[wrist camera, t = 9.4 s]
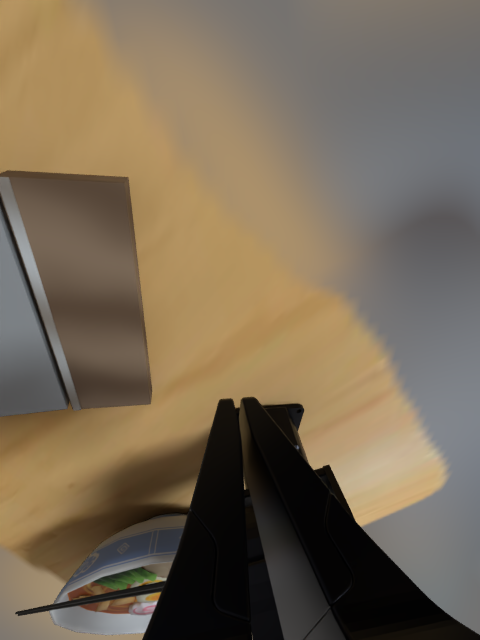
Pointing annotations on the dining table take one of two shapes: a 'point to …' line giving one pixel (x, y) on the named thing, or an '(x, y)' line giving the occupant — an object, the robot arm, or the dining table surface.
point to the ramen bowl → (119, 580)
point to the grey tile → (23, 339)
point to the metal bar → (84, 281)
